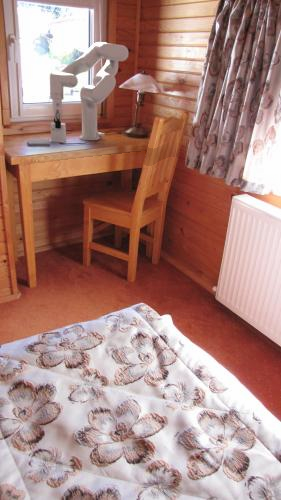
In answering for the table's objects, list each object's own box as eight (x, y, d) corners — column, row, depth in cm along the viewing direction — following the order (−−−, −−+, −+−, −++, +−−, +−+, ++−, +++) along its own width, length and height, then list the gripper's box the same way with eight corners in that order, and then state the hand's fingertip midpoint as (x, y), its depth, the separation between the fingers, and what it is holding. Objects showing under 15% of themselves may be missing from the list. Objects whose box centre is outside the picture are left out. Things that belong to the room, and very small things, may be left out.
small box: (66, 140, 243) (65, 123, 238) (63, 142, 238) (63, 124, 233) (53, 139, 244) (52, 122, 239) (50, 141, 239) (50, 123, 234)
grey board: (48, 141, 238) (48, 139, 238) (50, 146, 228) (50, 143, 227) (28, 141, 235) (27, 139, 235) (28, 146, 225) (28, 143, 224)
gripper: (64, 98, 223) (65, 129, 230) (62, 95, 237) (62, 124, 245) (51, 97, 221) (51, 129, 228) (49, 94, 235) (49, 124, 243)
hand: (57, 126), depth 237 cm, fingers open, 9 cm apart
